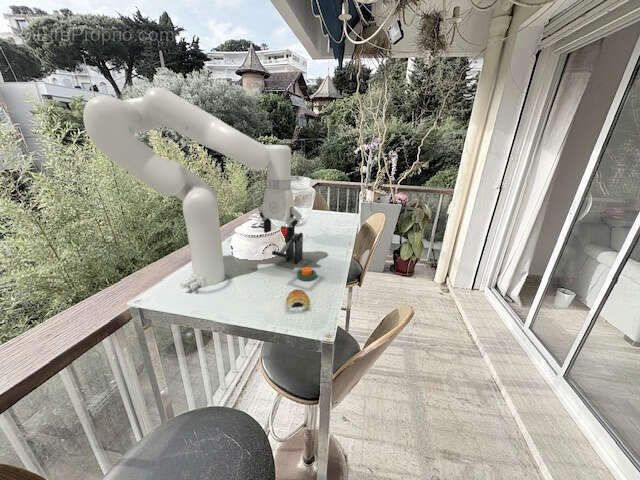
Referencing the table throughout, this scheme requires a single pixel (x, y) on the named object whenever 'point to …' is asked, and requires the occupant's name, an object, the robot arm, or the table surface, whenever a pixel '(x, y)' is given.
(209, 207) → the robot arm
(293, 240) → the lever
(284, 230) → the tomato
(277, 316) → the table surface
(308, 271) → the button
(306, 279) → the button box
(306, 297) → the pastry
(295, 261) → the bracket
